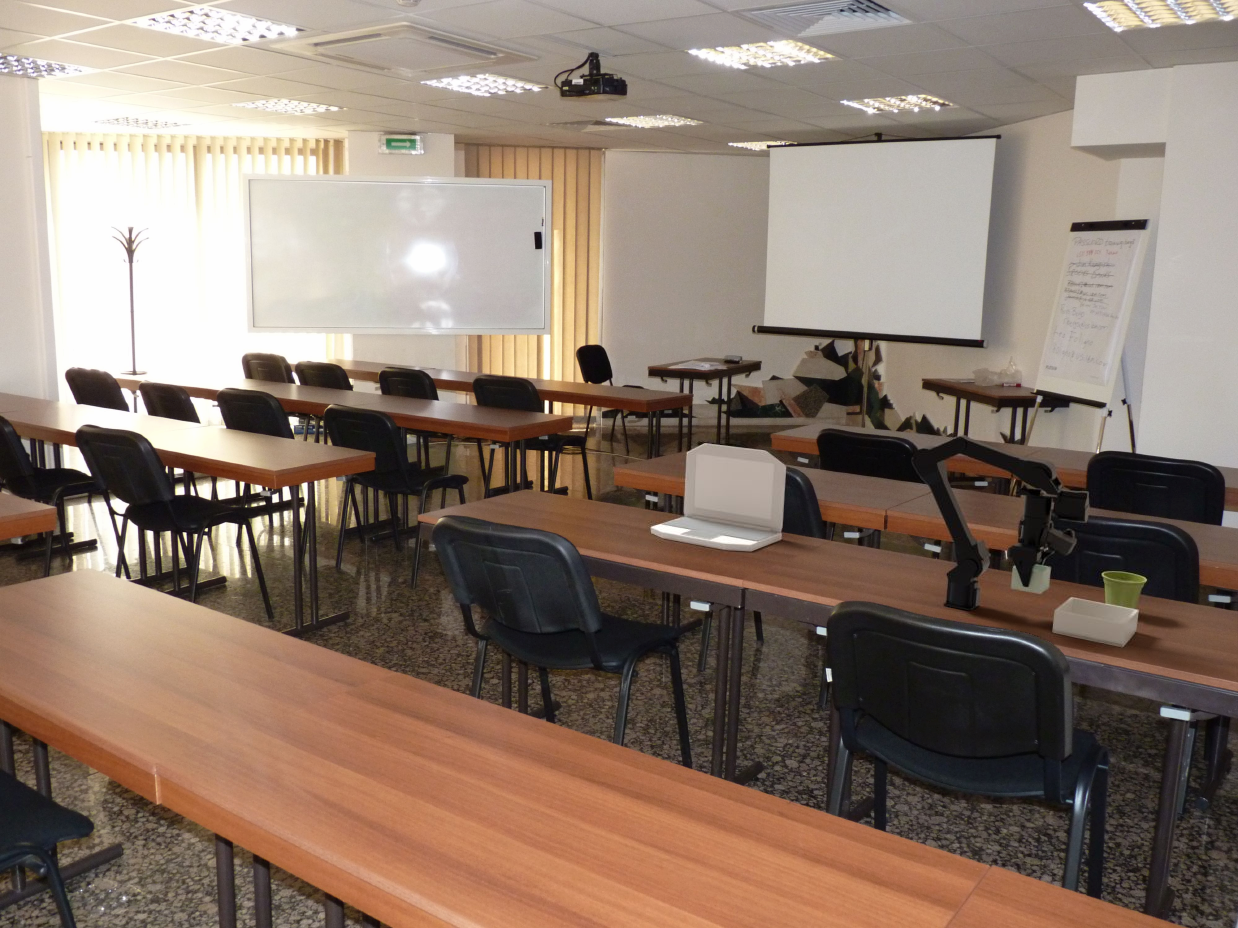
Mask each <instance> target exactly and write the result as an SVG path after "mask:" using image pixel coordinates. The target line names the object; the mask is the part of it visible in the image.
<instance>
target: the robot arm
mask: <svg viewBox="0 0 1238 928" xmlns="http://www.w3.org/2000/svg"><path fill="white" fill-rule="evenodd" d="M959 454H960V455H963V456H966V457H969V458H971V459H974V460H976V461H979V462H982V463H985V464H987V465H989V466H992V467H995V468H998V469H1000V470H1002V471H1003V470H1004V471H1006V472H1008V473H1010V474H1012V475H1013V476H1015V478H1017V479H1019V480H1020V481H1022V482H1023V483H1024V484H1023V485H1022V487H1021V488H1020V489H1018V490H1016V491H1015V495H1017V496H1018V495H1019V496H1024V500H1023V501H1024V503H1023V513H1022V519H1020V521H1019V526H1021V534H1020V537H1018V539H1017V542H1016V543H1015V544H1012V545H1011V546H1010V547H1008V549H1007V556H1006V557H1008V558H1010V560H1012V562H1013V565H1014V566H1015V567H1016V569H1017V572H1018V574H1019V577H1020V579H1021V582H1022V585H1023V587H1029V583H1030V580H1031V577H1032V573H1033V569H1034V566H1035V565H1036V564H1037V565H1043V566H1044V563H1045V561H1046V559H1047V558H1048V557H1049V556H1051V555H1052V554H1054V553H1055V551H1058V552H1059V553H1060V554H1061V555H1064V556H1068V555H1069V554H1071V553H1072V551H1073V549H1074V547H1075V546H1076V545H1077V542H1078V539H1077V538H1076V536H1075V535H1076V533H1075V531H1074V530H1072V529H1071V528H1067V529H1066V530H1064V531H1062V530H1061V529H1060V530H1058V529H1056V528H1054V526H1055V525H1054V522H1053V521H1054V520H1051V519H1052V517H1051V516H1052V513H1053V515H1055V517H1057V519H1058V520H1061V521H1069V522H1076V523H1085V524H1086V523H1087V522H1088V519H1089V515H1090V510H1091V509H1090V508H1091V507H1090V506H1091V505H1090V499H1089V496H1090V495H1089V494H1090V492H1089V491H1086V490H1081V491H1080V490H1079V491H1077V490H1069V489H1066V488H1065V486H1064V485H1063V483H1062V481H1061V480H1060V479H1059V477H1058V476H1057V474H1058V471H1057V470H1058V469H1057V467H1056V466H1055V464H1054V463H1053V462H1052V461H1050V460H1048V459H1044V458H1043V459H1042V458H1038V457H1033V456H1032V457H1031V456H1024V455H1017V454H1015V453H1012V452H1010V451H1006V450H1003V449H1001V448H998V447H995V446H992V445H989V444H987V443H984V442H981V441H978V440H975V439H973V438H971V437H969V436H968V435H963V434H962V435H958V436H955V437H952V439H951V440H949V441H946V442H944V443H942V444H939V445H937V446H934V445H929V446H926V447H922V448H919V449H917V450H915V451H914V453H913V455H912V457H911V464H912V466H913V467H912V468H914V469H915V472H916V473H917V474H918V476H919V477H920V479H921V480H922V481H923V482H924V483H925V484H926V485H927V486H928V487H929V489H930V492H931V493H932V496H933V498H934V501H935V502H936V506H937V507H938V509H939V512H940V513H941V516H942V518H943V522H944V523H945V526H946V529H947V530H948V532H949V535H950V537H951V540H952V542H953V548H954V549H953V550H954V558H955V563H956V566H955V567H953V568H952V569H950V570H948V572H946V577H947V585H946V597H945V601H944V602H943V604H942V605H943V606H945V607H951V608H956V609H959V610H965V611H972V610H974V609H975V608H977V607H978V606H979V605H980V596H981V588H980V587H979V580H976V579H978V578H979V576H981V575H982V574H984V572H986V571H987V570H988V568H989V566H990V563H991V562H990V561H991V560H990V557H991V556H992V555H991V553H990V552H989V551H988V549H987V547H986V543H985V540H984V539H981V540H979V541H978V540H977V539H976V538H975V537H974V536H973V534H972V532H971V530H970V528H969V526H968V523H967V521H966V519H965V516H964V514H963V512H962V509H961V507H960V505H959V503H958V500H957V498H956V496H955V494H954V491H953V489H952V487H951V484H950V483H949V480H948V470H947V469H948V468H947V463H946V460H949V459H951V458H953V457H955V456H957V455H959ZM1030 486H1031V487H1030ZM1052 506H1053V507H1052ZM1052 508H1053V509H1052ZM1049 547H1050V548H1051V549H1052V550H1050V549H1049ZM1054 550H1055V551H1054Z"/></svg>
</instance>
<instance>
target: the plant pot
mask: <svg viewBox="0 0 1238 928" xmlns="http://www.w3.org/2000/svg"><path fill="white" fill-rule="evenodd" d="M1101 577H1102V578H1103V582H1104V597H1105V604H1110V605H1115V606H1121V607H1126V608H1131V609H1136V610H1137V605H1138V604H1139V603H1138V602H1139V599H1140V596H1141V592H1142V588H1144V586H1145V584H1146V583H1147V581H1148V579H1147V578H1146V577H1145V576H1142V575H1139V574H1135V573H1130V572H1126V571H1113V570H1112V571H1111V570H1110V571H1104V572H1102V573H1101Z"/></svg>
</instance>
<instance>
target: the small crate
mask: <svg viewBox="0 0 1238 928" xmlns="http://www.w3.org/2000/svg"><path fill="white" fill-rule="evenodd" d="M1051 570H1052V567H1051V566H1047V565H1044V564H1043V565H1037V564H1036V565H1035V566H1034V569H1033V573H1032V577H1031V580H1030V583H1029V587H1023V585H1022V582H1021V579H1020V577H1019V574H1018V572H1017V569H1016V567H1015V565H1013V567H1012V573H1011V583H1010V589H1012V590H1015V591H1016V590H1017V591H1023V592H1028V593H1033V594H1037V595H1039V594H1040V595H1041V594H1043V593H1045V592H1046V591H1047V590H1048V589H1050V581H1051V580H1050V579H1051Z"/></svg>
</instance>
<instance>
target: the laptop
mask: <svg viewBox="0 0 1238 928" xmlns="http://www.w3.org/2000/svg"><path fill="white" fill-rule="evenodd" d="M685 459H686V460H685V461H686V462H685V481H684V482H685V483H684V501H683V503H684V505H683V513H684V516H681V517H678V518H675V519H672V520H668V521H666V522H662V523H660V524H659V523H658V524H656V525H652V526H650V533H651V534H652V535H655V536H656V537H659V538H661V539H664V540H668V541H669V540H670V541H675V542H680V543H685V544H691V545H696V546H700V547H701V546H702V547H707V548H713V549H719V550H722V551H734V552H736V551H737V552H753V551H756V550H758V549H761V548H763V547H767V546H769V545H771V544H774V543H776V542H779V541H781V540H782V534H783V533H782V529H783V524H784V523H783V522H784V505H785V489H786V477H787V476H786V474H787V466H786V465H785V463H783V462H782V461H780V460H779V459H778V458H776V457H775V456H774V455H772V454H771V453H770V452H768V451H767V450H763V449H756V448H755V449H754V448H746V447H738V446H730V445H720V444H715V443H714V444H712V443H706V442H705V443H703V444H701V445H698V446H696V447H695V448H692V449H690V450H689V451H687V452H686V458H685Z"/></svg>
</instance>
